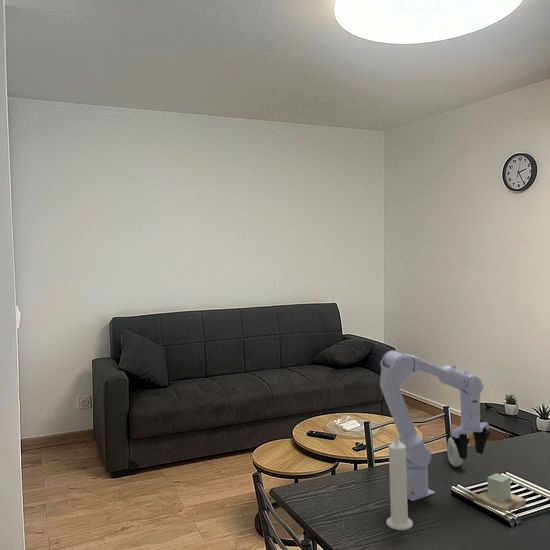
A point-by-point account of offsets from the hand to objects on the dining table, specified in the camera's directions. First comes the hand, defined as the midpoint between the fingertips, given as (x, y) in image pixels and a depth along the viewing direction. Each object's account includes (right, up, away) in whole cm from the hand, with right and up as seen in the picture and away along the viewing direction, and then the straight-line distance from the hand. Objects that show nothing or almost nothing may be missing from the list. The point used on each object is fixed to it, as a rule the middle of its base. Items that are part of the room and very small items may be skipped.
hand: (471, 455), depth 179 cm
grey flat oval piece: (0, -9, +17) cm, 19 cm away
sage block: (+3, -8, -15) cm, 17 cm away
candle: (-28, -12, -23) cm, 38 cm away
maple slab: (+3, -11, -14) cm, 18 cm away
